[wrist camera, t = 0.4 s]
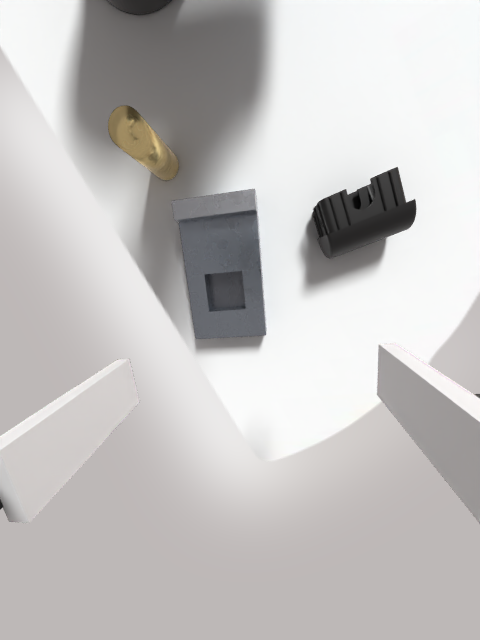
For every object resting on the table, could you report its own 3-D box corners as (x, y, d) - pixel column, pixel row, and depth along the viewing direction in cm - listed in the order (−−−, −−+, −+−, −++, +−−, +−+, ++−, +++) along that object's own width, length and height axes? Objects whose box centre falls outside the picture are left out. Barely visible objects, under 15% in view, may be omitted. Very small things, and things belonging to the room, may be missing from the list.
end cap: (322, 259, 35) (334, 259, 29) (307, 212, 34) (317, 200, 27) (392, 232, 33) (422, 225, 27) (379, 181, 32) (407, 161, 25)
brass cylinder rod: (150, 152, 34) (104, 109, 25) (176, 147, 34) (139, 102, 24) (155, 182, 35) (112, 152, 26) (180, 178, 35) (146, 145, 25)
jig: (184, 207, 36) (171, 198, 31) (256, 197, 34) (254, 186, 29) (202, 332, 40) (192, 342, 35) (266, 328, 39) (265, 338, 34)
